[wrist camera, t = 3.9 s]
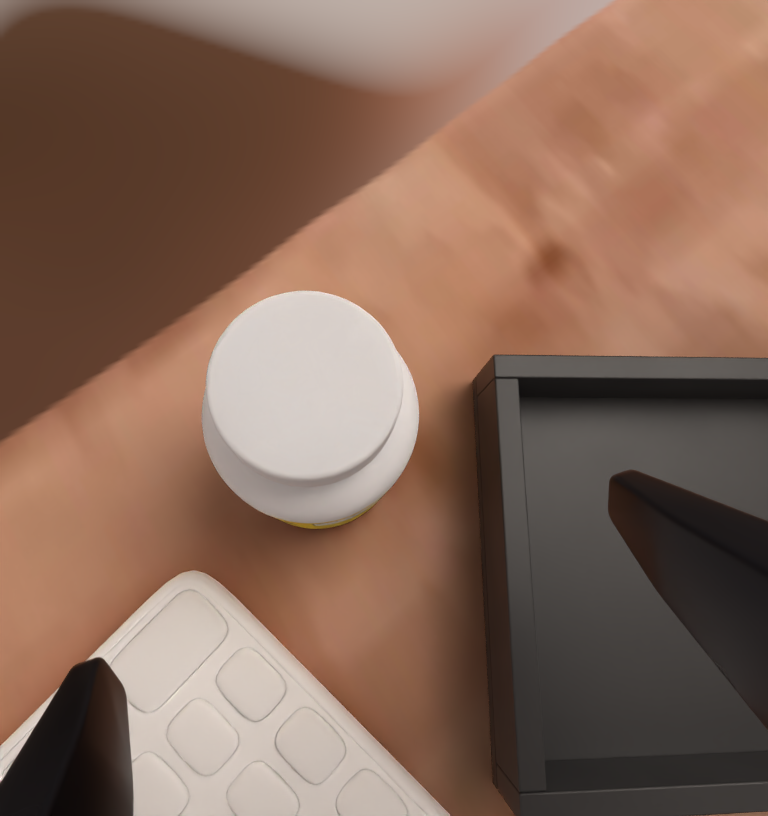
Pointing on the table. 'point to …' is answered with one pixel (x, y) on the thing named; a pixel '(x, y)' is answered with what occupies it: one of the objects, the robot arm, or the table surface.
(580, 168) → the table surface
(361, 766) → the calculator
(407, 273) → the table surface
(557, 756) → the black tray
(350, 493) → the supplement bottle
